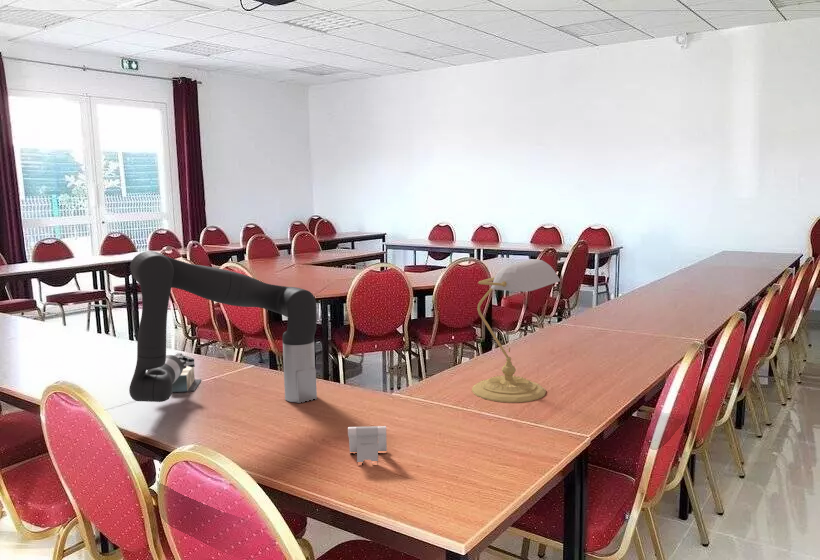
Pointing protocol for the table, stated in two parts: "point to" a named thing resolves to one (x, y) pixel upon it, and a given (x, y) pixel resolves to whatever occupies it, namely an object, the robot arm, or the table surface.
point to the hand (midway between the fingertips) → (179, 356)
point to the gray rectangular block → (193, 385)
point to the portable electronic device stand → (367, 441)
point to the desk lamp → (516, 280)
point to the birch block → (184, 380)
